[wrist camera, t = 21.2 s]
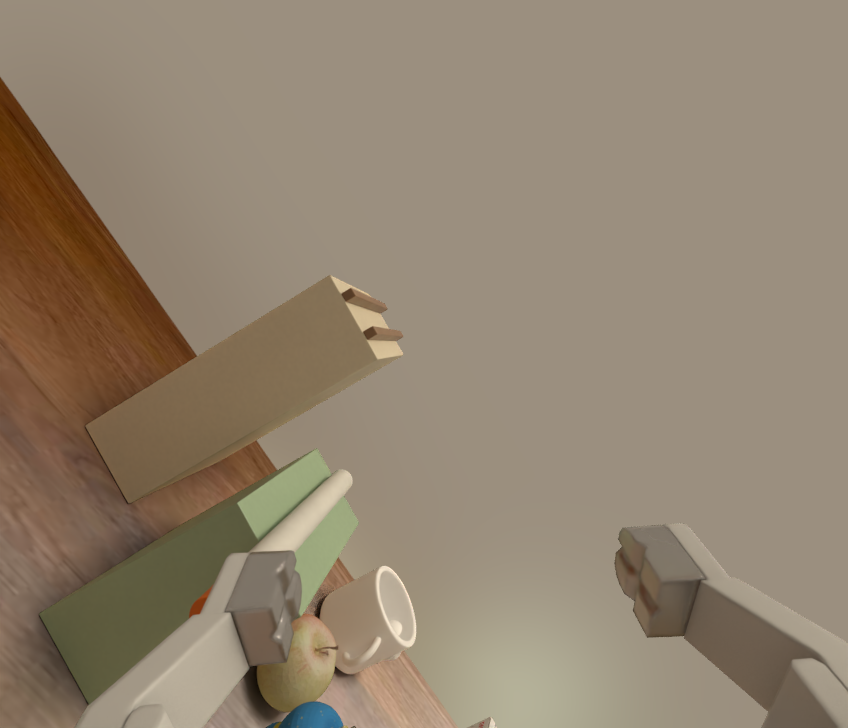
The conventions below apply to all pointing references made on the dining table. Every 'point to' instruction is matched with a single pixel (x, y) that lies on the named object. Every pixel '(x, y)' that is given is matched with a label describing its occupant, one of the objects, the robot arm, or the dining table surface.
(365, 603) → the mug
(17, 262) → the dining table surface
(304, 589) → the low block
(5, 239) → the dining table surface
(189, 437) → the tall stand
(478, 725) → the ink box
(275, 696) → the fruit
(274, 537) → the marker
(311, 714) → the ornament
